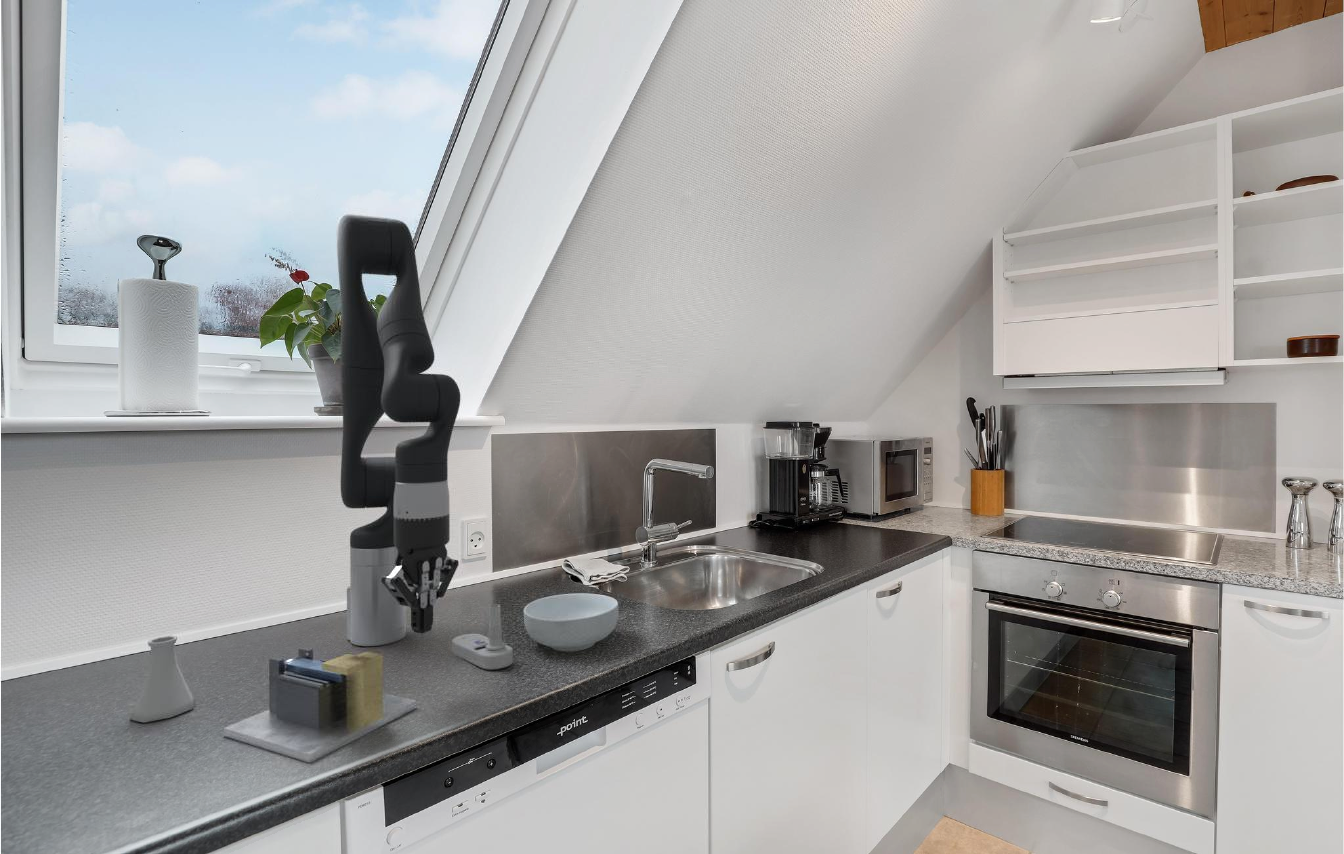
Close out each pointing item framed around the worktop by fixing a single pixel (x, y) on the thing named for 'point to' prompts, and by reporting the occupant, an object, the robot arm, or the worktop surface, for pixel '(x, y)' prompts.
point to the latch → (361, 685)
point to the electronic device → (485, 645)
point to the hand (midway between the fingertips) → (422, 631)
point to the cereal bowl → (571, 620)
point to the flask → (162, 685)
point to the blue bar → (311, 669)
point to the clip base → (309, 737)
